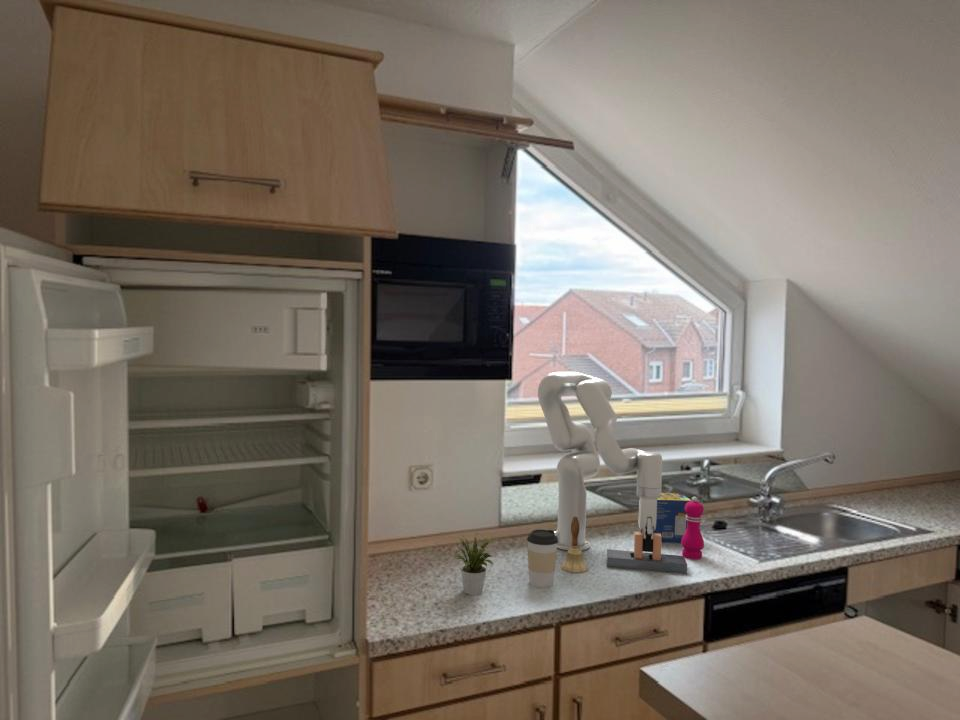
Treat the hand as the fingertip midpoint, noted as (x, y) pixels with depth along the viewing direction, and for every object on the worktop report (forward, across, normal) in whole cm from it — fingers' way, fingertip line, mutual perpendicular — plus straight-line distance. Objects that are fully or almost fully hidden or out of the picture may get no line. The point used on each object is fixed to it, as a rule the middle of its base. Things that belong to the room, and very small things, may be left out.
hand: (647, 549), depth 205 cm
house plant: (+5, +35, -50) cm, 61 cm away
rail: (+6, 0, 0) cm, 6 cm away
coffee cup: (+6, +23, -31) cm, 39 cm away
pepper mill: (+6, -14, +16) cm, 22 cm away
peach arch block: (+3, 0, 0) cm, 3 cm away
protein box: (+6, -32, +9) cm, 34 cm away
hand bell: (+6, +8, -22) cm, 24 cm away
